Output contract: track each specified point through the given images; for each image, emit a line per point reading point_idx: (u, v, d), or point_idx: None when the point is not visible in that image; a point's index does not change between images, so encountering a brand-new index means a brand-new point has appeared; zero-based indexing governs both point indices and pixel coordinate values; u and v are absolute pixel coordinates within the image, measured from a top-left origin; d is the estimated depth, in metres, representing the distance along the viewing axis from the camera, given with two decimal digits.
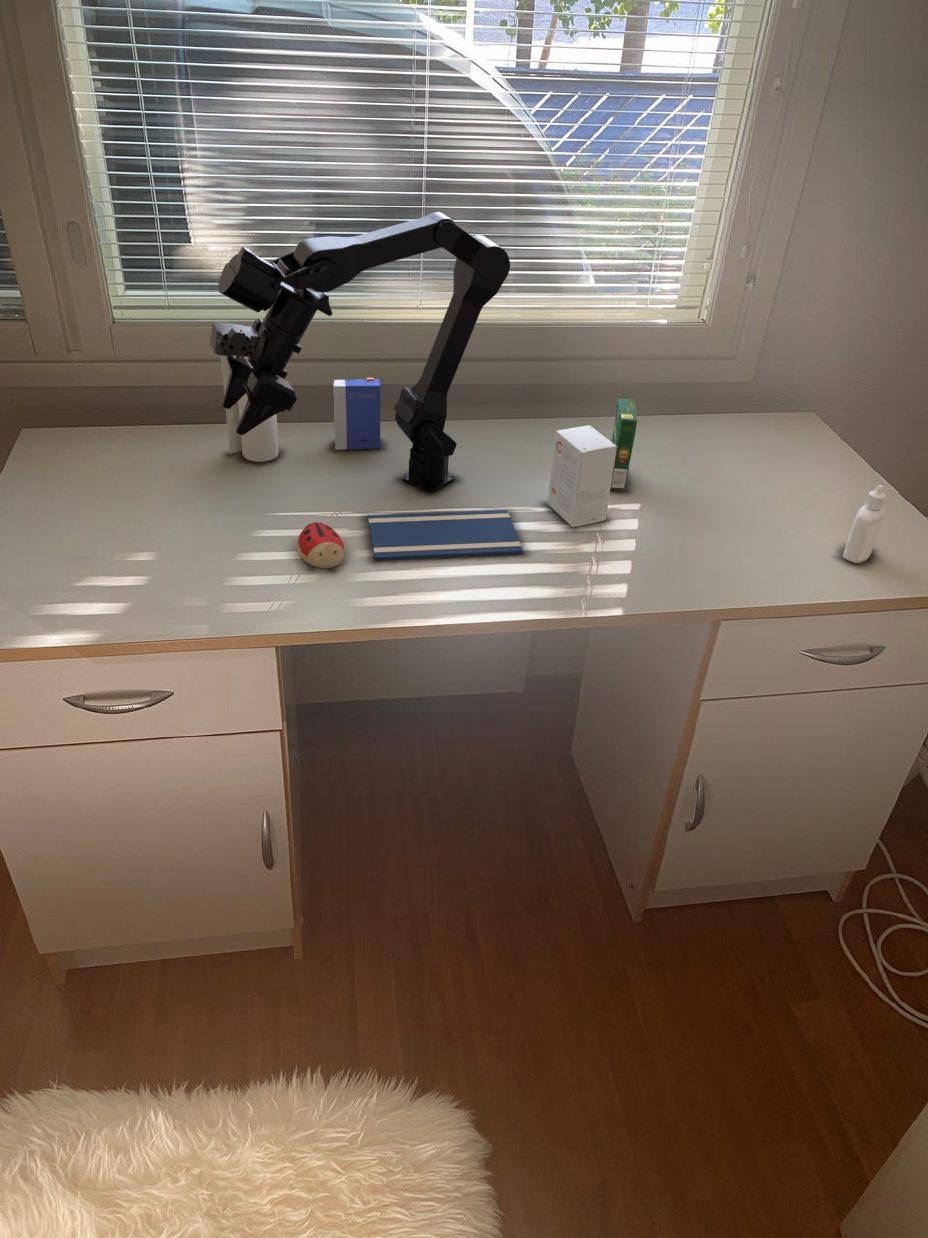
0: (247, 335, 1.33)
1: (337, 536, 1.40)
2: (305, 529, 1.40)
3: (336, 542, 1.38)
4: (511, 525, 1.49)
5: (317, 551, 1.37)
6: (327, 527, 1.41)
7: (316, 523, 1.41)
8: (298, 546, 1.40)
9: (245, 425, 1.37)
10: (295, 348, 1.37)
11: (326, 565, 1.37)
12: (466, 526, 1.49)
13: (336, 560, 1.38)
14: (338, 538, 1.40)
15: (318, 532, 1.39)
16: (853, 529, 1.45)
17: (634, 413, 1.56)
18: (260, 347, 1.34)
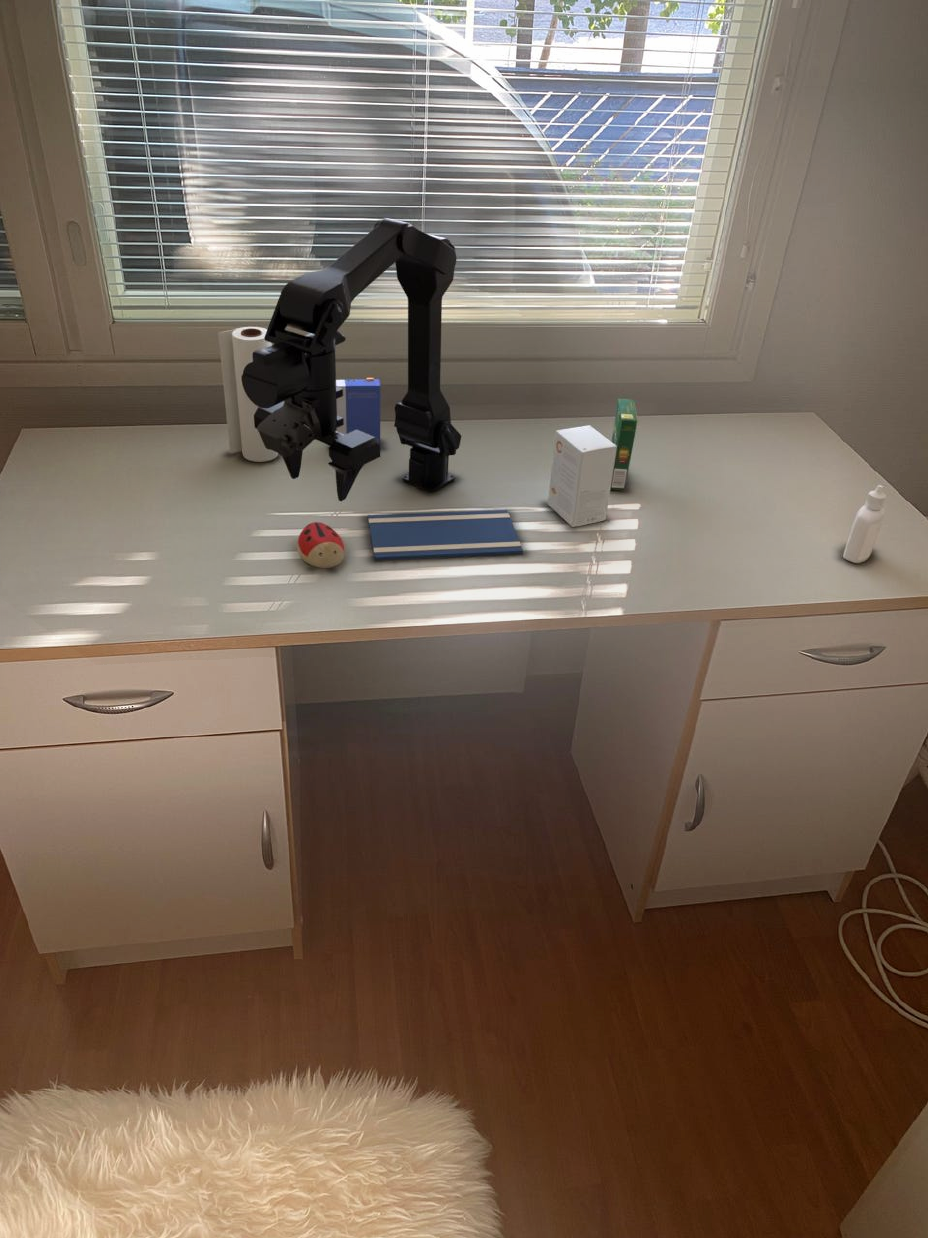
0: (299, 420, 1.24)
1: (337, 536, 1.40)
2: (305, 529, 1.40)
3: (336, 542, 1.38)
4: (511, 525, 1.49)
5: (317, 551, 1.37)
6: (327, 527, 1.41)
7: (316, 523, 1.41)
8: (298, 546, 1.40)
9: (344, 490, 1.32)
10: (338, 394, 1.27)
11: (326, 565, 1.37)
12: (466, 526, 1.49)
13: (336, 560, 1.38)
14: (338, 538, 1.40)
15: (318, 532, 1.39)
16: (853, 529, 1.45)
17: (634, 413, 1.56)
18: (316, 420, 1.25)
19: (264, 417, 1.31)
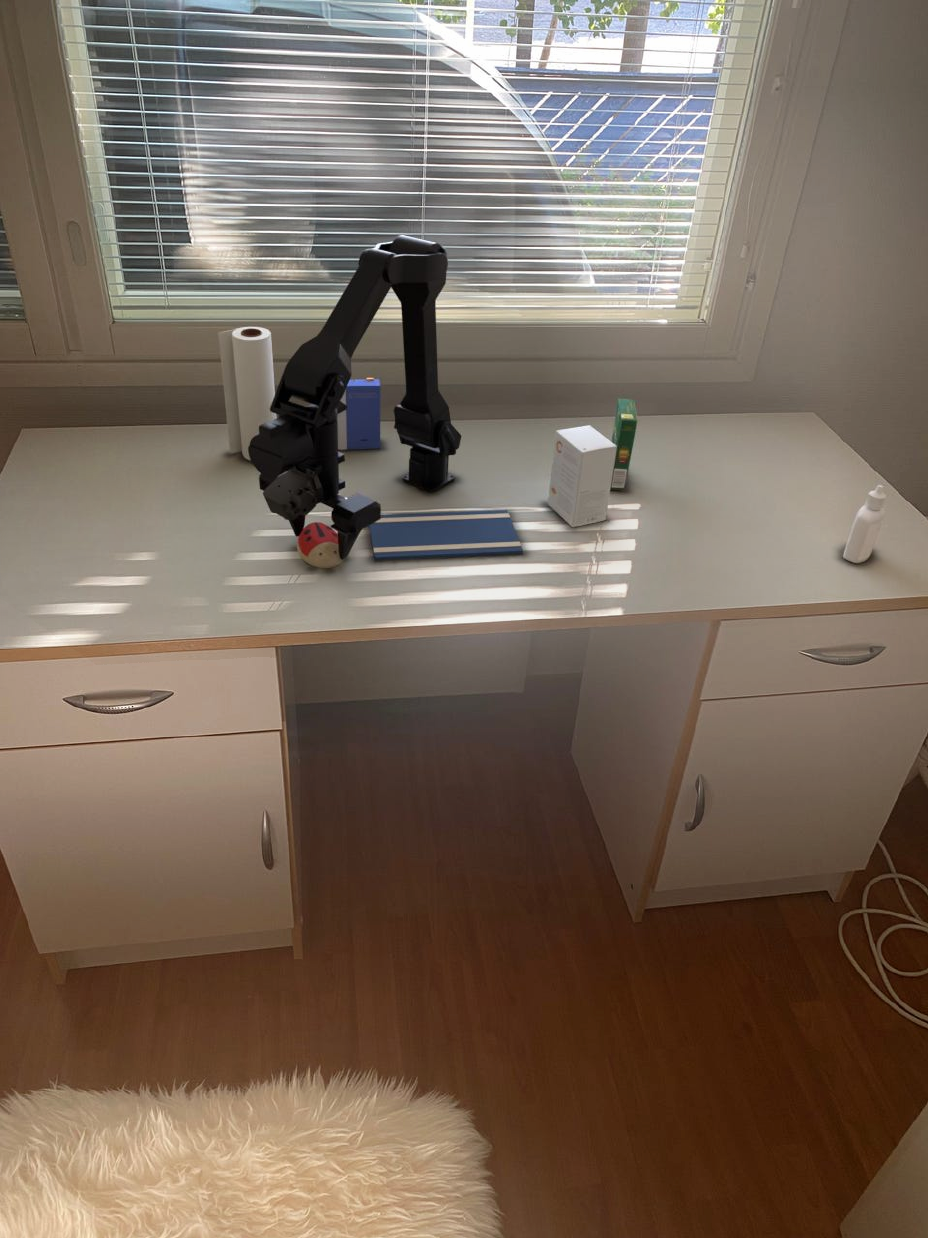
0: (303, 486, 1.29)
1: (337, 536, 1.40)
2: (305, 529, 1.40)
3: (336, 542, 1.38)
4: (511, 525, 1.49)
5: (317, 551, 1.37)
6: (327, 527, 1.41)
7: (316, 523, 1.41)
8: (298, 546, 1.40)
9: (345, 550, 1.37)
10: (340, 459, 1.33)
11: (326, 565, 1.37)
12: (466, 526, 1.49)
13: (336, 560, 1.38)
14: None
15: (318, 532, 1.39)
16: (853, 529, 1.45)
17: (634, 413, 1.56)
18: (319, 485, 1.31)
19: (269, 480, 1.37)
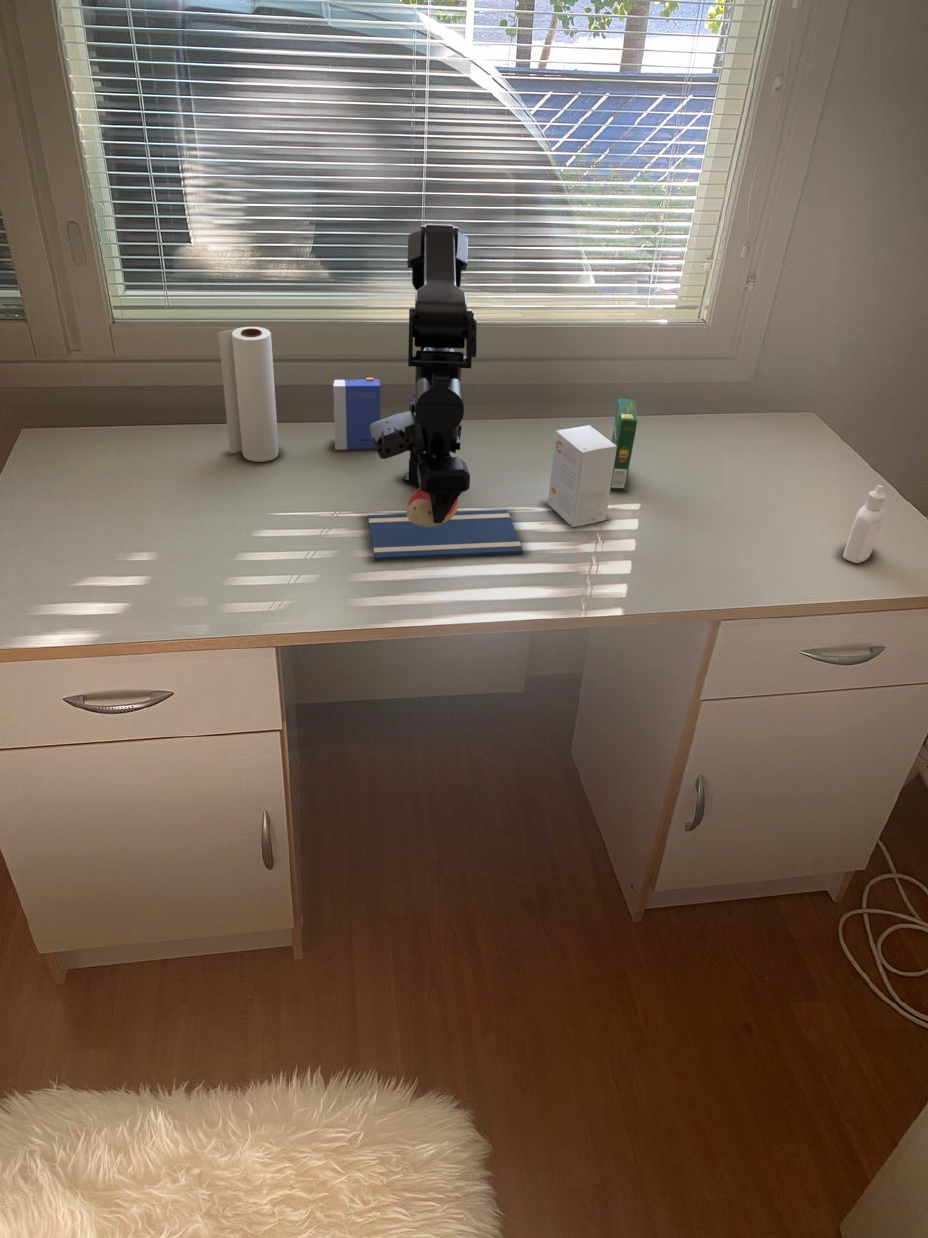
0: (401, 428, 1.23)
1: None
2: None
3: None
4: (511, 525, 1.49)
5: (414, 505, 1.29)
6: None
7: None
8: None
9: (438, 514, 1.28)
10: None
11: (416, 522, 1.29)
12: (466, 526, 1.49)
13: (427, 521, 1.29)
14: None
15: None
16: (853, 529, 1.45)
17: (634, 413, 1.56)
18: (419, 434, 1.23)
19: None
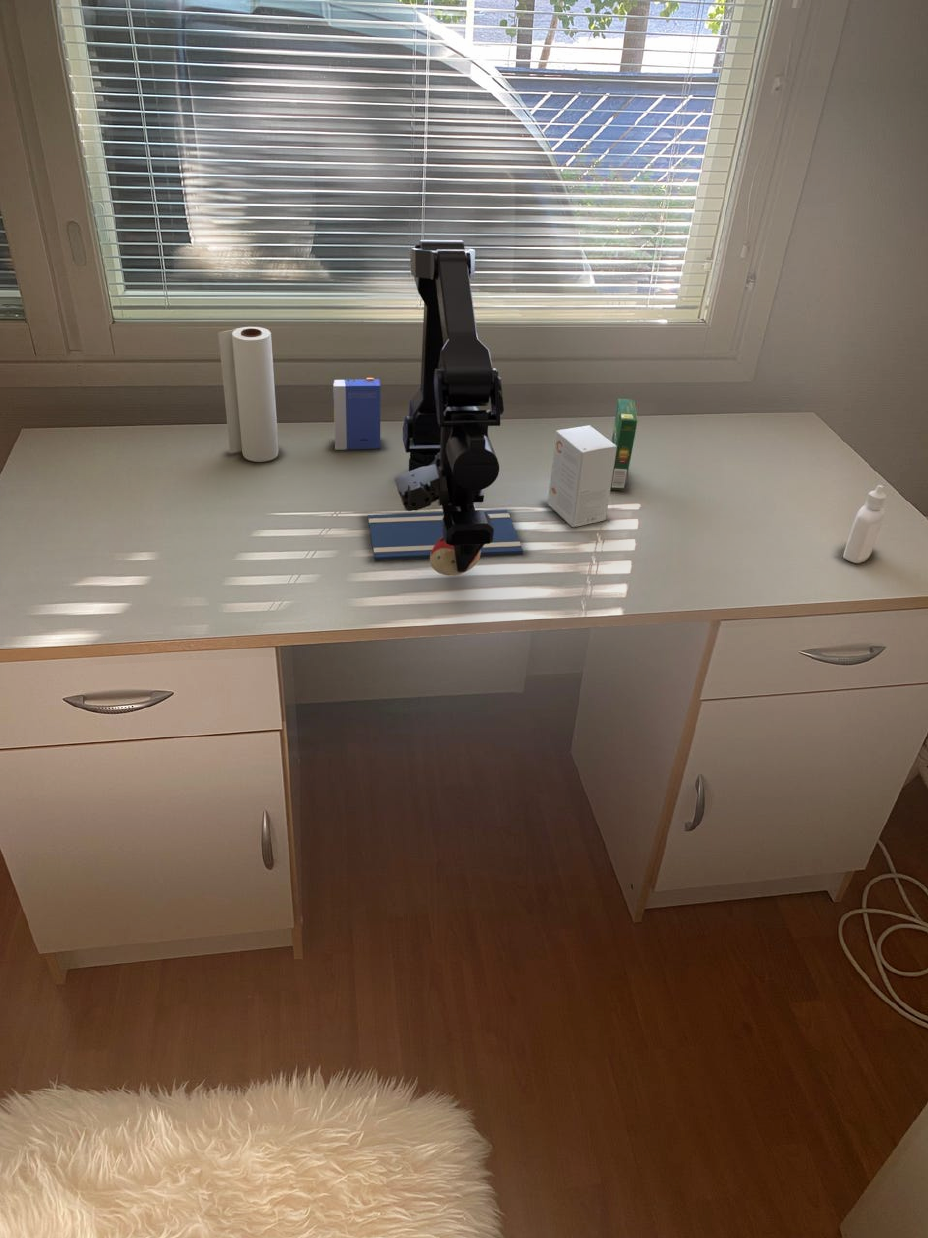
0: (427, 482, 1.26)
1: None
2: None
3: None
4: (511, 525, 1.49)
5: (438, 554, 1.33)
6: None
7: None
8: None
9: (462, 563, 1.31)
10: None
11: (440, 570, 1.33)
12: None
13: (450, 570, 1.32)
14: None
15: None
16: (853, 529, 1.45)
17: (634, 413, 1.56)
18: (444, 488, 1.27)
19: None
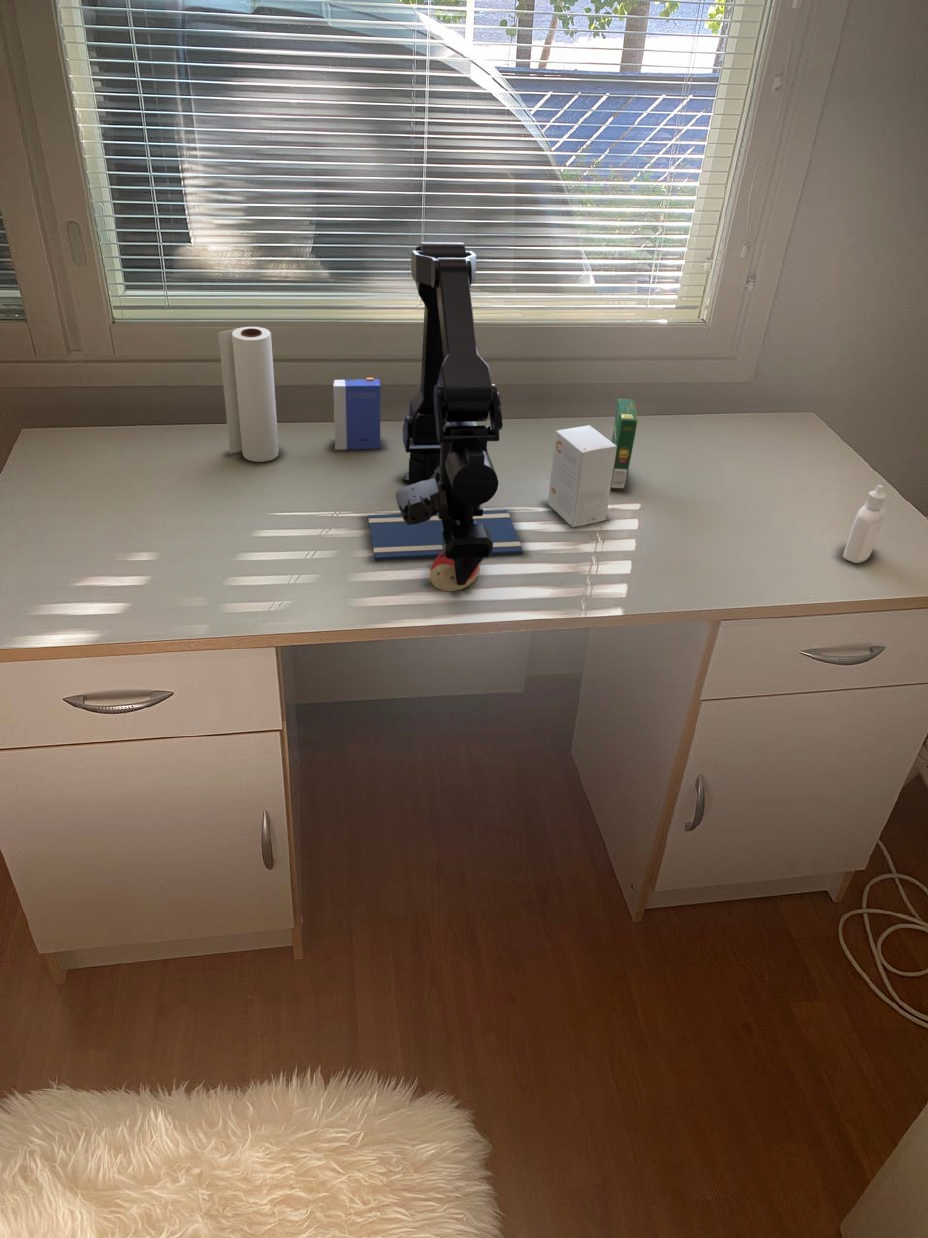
0: (427, 496, 1.28)
1: None
2: None
3: None
4: (511, 525, 1.49)
5: (437, 570, 1.35)
6: None
7: None
8: None
9: (461, 576, 1.32)
10: None
11: (439, 586, 1.34)
12: None
13: (450, 586, 1.34)
14: None
15: None
16: (853, 529, 1.45)
17: (634, 413, 1.56)
18: (443, 502, 1.28)
19: None
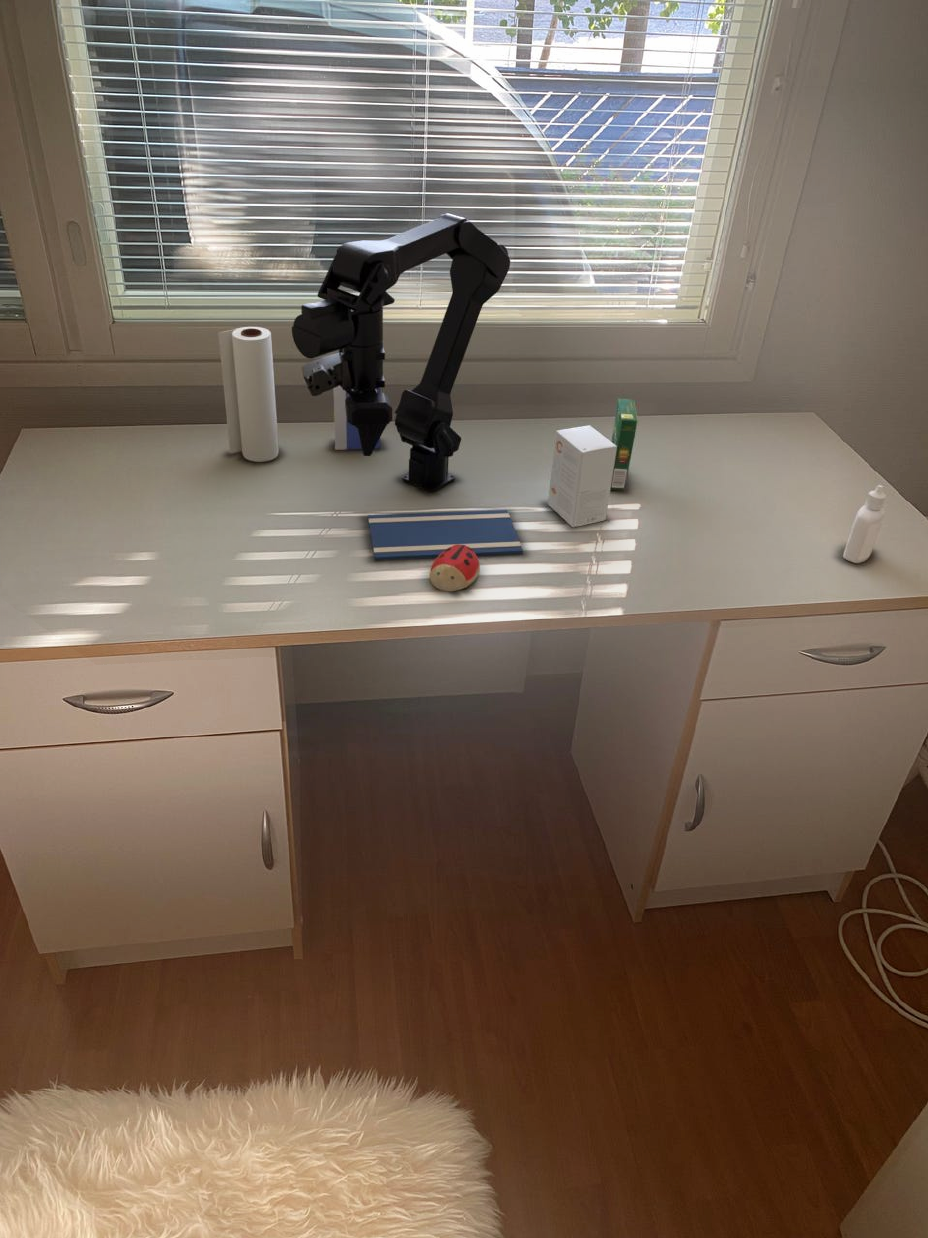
0: (330, 367, 1.35)
1: (468, 565, 1.36)
2: (449, 547, 1.39)
3: (461, 569, 1.34)
4: (511, 525, 1.49)
5: (437, 570, 1.35)
6: (467, 553, 1.37)
7: (463, 546, 1.38)
8: None
9: (367, 447, 1.40)
10: (379, 356, 1.35)
11: (439, 586, 1.34)
12: (466, 526, 1.49)
13: (450, 586, 1.34)
14: (468, 567, 1.35)
15: (454, 554, 1.37)
16: (853, 529, 1.45)
17: (634, 413, 1.56)
18: (346, 372, 1.35)
19: None
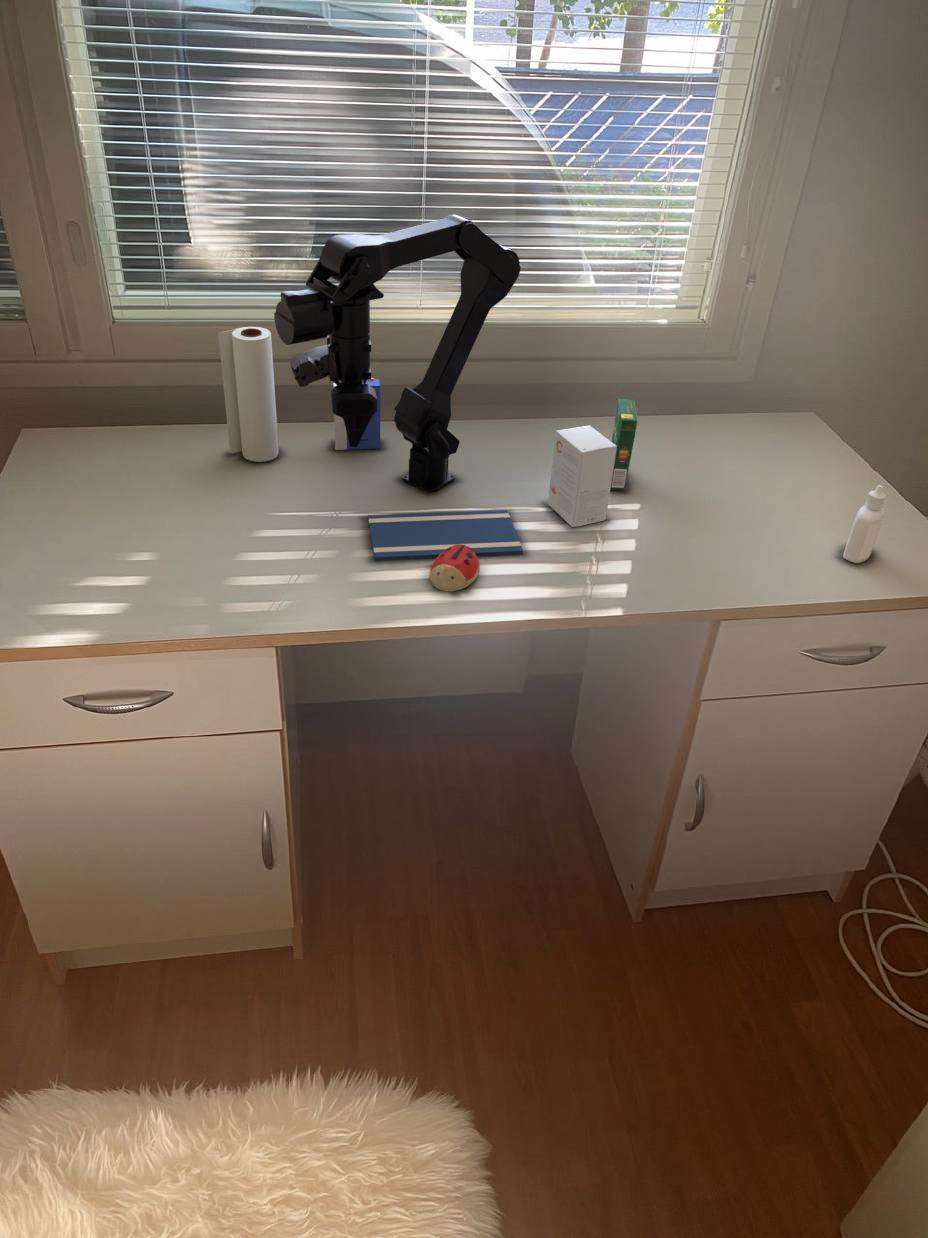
0: (317, 358, 1.37)
1: (468, 565, 1.36)
2: (449, 547, 1.39)
3: (461, 569, 1.34)
4: (511, 525, 1.49)
5: (437, 570, 1.35)
6: (467, 553, 1.37)
7: (463, 546, 1.38)
8: None
9: (353, 438, 1.42)
10: (365, 348, 1.37)
11: (439, 586, 1.34)
12: (466, 526, 1.49)
13: (450, 586, 1.34)
14: (468, 567, 1.35)
15: (454, 554, 1.37)
16: (853, 529, 1.45)
17: (634, 413, 1.56)
18: (332, 363, 1.37)
19: None
